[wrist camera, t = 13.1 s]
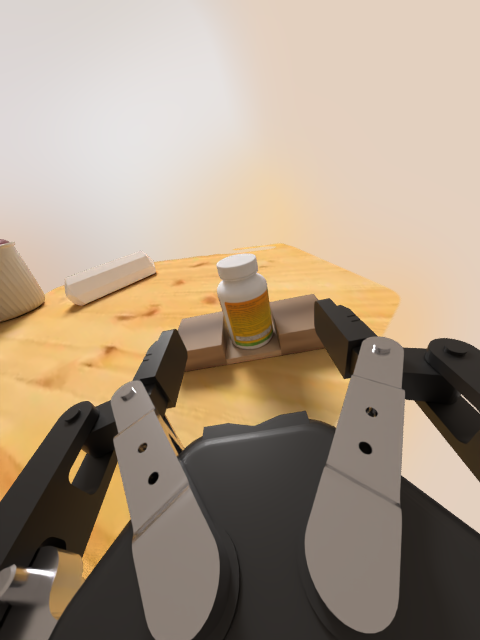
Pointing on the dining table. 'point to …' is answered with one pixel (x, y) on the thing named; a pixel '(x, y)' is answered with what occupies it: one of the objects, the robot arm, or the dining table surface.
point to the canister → (16, 284)
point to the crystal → (108, 278)
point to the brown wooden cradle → (288, 337)
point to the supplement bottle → (244, 301)
